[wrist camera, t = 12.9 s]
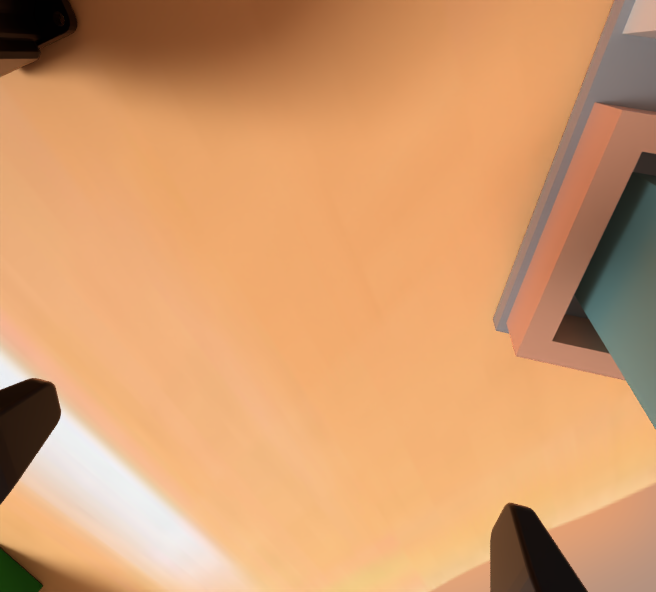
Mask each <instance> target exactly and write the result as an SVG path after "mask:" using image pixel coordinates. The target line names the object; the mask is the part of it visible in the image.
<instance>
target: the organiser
mask: <svg viewBox="0 0 656 592" xmlns="http://www.w3.org/2000/svg"><path fill="white" fill-rule="evenodd" d="M632 172H637V173H642V174H648V175H654V176H656V0H614V3H613V5H612V8H611V10H610V13H609V16H608V18H607V21H606V24H605V26H604V29H603V31H602V34H601V37H600V39H599V42H598V45H597V47H596V50H595V52H594V55H593V58H592V60H591V63H590V66H589V68H588V71H587V73H586V76H585V79H584V81H583V84H582V87H581V89H580V92H579V94H578V97H577V100H576V102H575V105H574V108H573V110H572V113H571V115H570V118H569V121H568V123H567V126H566V129H565V131H564V134H563V136H562V139H561V142H560V144H559V147H558V150H557V152H556V155H555V157H554V160H553V163H552V165H551V168H550V171H549V173H548V176H547V178H546V181H545V184H544V186H543V189H542V192H541V194H540V197H539V199H538V202H537V205H536V207H535V210H534V213H533V215H532V218H531V220H530V223H529V226H528V228H527V231H526V234H525V236H524V239H523V241H522V244H521V247H520V249H519V252H518V255H517V257H516V260H515V262H514V265H513V268H512V270H511V273H510V275H509V278H508V281H507V283H506V286H505V289H504V291H503V294H502V296H501V299H500V302H499V304H498V307H497V310H496V312H495V315H494V317H493V321H494V325H495V330H496V331H500V332H505V333H509V334H510V338H511V341H512V344H513V348H514V351H515V355H516V356H518V357H522V358H527V359H531V360H536V361H540V362H545V363H549V364H554V365H558V366H563V367H567V368H572V369H576V370H581V371H585V372H590V373H594V374H599V375H603V376H608V377H612V378H617V379H621V380H625V378H624V376H623V375H622V373H621V371H620V370H619V368H618V366H617V365H616V363H615V361H614V360H613V358H612V356H611V355H610V353H609V351H608V350H607V348H606V346H605V345H604V343H603V341H602V340H601V338H600V336H599V335H598V333H597V332H596V330H595V328H594V327H593V325H592V323H591V322H590V320H589V318H588V317H587V315H586V313H585V312H584V310H583V308H582V307H581V305H580V303H579V302H578V300H577V298H576V297H575V295H574V294H575V292H576V289H577V287H578V285H579V283H580V281H581V279H582V277H583V275H584V273H585V271H586V268H587V266H588V264H589V262H590V260H591V258H592V256H593V254H594V252H595V250H596V247H597V245H598V243H599V241H600V239H601V237H602V235H603V233H604V231H605V229H606V226H607V224H608V222H609V220H610V218H611V216H612V214H613V212H614V210H615V207H616V205H617V203H618V201H619V199H620V197H621V195H622V193H623V191H624V189H625V186H626V184H627V182H628V180H629V178H630V176H631V174H632Z"/></svg>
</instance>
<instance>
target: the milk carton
mask: <svg viewBox="0 0 656 592" xmlns="http://www.w3.org/2000/svg"><path fill="white" fill-rule="evenodd" d="M42 587H43V585H42V584H41V583H39V582H38V581H37V580H36V579H35V578H34V577H33V576H31V575H30V574H29V573H28V572H27V571H26V570H25V569H24V568H22V567H21V566H20V565H19V564H18V563H17V562H16V561H14V560H13V559H12V558H11V557H10V556H9V555H8V554H6V553H5V552H4V551H3V550H2V549H1V548H0V592H39V590H40V589H41V588H42Z"/></svg>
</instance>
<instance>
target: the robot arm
mask: <svg viewBox="0 0 656 592" xmlns="http://www.w3.org/2000/svg"><path fill="white" fill-rule="evenodd" d="M60 14H62V15H63V16H64V20H65V21H64V25H63V24H62V23H61V20H60ZM76 27H77V19H76V16H75V14H74V12H73V9H72V7H71V5H70V3H69V1H68V0H0V77H1V76H3V75H6V74H8V73H10V72H12V71H14V70H16V69H19V68H21V67H23V66H25V65H27V64H29V63H32V62H34V61H36V60H38V59H39V57H40V54H41V52H40V50H39V49H40V48H42V47H44V46H46V45H49V44H51V43H53V42H55V41H57V40H59V39H61V38H63V37H66V36H68V35H70V34H72V33H73V32H74V31H75V30H76ZM60 416H61V409H60V404H59V400H58V396H57V391H56V388H55V385H54V384H53V383H51V382H49V381H45V380H41V379H37V378H31V379H28V380H25V381H22V382H20V383H17V384H14V385H12V386H9V387H7V388H4V389H1V390H0V504H1V503H2V502H3V501H4V499H5V498H6V497H7V496H8V494H9V493H10V492H11V490H12V489H13V488H14V486H15V485H16V483H17V482H18V481H19V479H20V478H21V476H22V475H23V473H24V472H25V471H26V469H27V468H28V466H29V465H30V463H31V462H32V460H33V459H34V457H35V456H36V454H37V453H38V451H39V450H40V449H41V447H42V446H43V444H44V443H45V441H46V440H47V438H48V437H49V435H50V434H51V432H52V431H53V430H54V428H55V427H56V425H57V423H58V422H59V419H60ZM490 569H491V570H490V571H491V572H490V573H491V574H490V575H491V576H490V581H491V582H490V588H491V590H490V592H588V591H587V590H586V588H585V587H584V585H583V584H582V582H581V581H580V579H579V578H578V577H577V575H576V573H575V572H574V570H573V569H572V567H571V566H570V564H569V563H568V561H567V560H566V558H565V557H564V555H563V554H562V552H561V551H560V549H559V548H558V546H557V545H556V543H555V542H554V540H553V539H552V537H551V536H550V534H549V533H548V531H547V530H546V528H545V527H544V525H543V524H542V522H541V521H540V519H539V518H538V516H537V515H536V513H535V512H534V511H533V510H532V509H531V508H529V507H526V506H522V505H518V504H514V503H508V504H506V505H505V507H504V509H503V510H502V512H501V514H500V516H499V518H498V520H497V522H496V523H495V525H494V527H493V530H492V533H491V540H490Z"/></svg>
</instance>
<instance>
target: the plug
mask: <svg viewBox="0 0 656 592" xmlns="http://www.w3.org/2000/svg"><path fill="white" fill-rule="evenodd" d="M574 295H575V297H576V298H577V300H578V302H579V303H580V305H581V307H582V308H583V310H584V312H585V313H586V315H587V317H588V318H589V320H590V322H591V323H592V325H593V327H594V328H595V330H596V332H597V333H598V335H599V336H600V338H601V340H602V341H603V343H604V345H605V346H606V348H607V350H608V351H609V353H610V355H611V356H612V358H613V360H614V361H615V363H616V365H617V366H618V368H619V370H620V371H621V373H622V375H623V376H624V378H625V380H626V381H627V383H628V385H629V386H630V388H631V389H632V391H633V393H634V394H635V396H636V398H637V399H638V401H639V403H640V404H641V406H642V408H643V409H644V411H645V413H646V414H647V416H648V418H649V419H650V421H651V423H652V424H653V426H654V428H655V429H656V176H654V175H648V174H642V173H637V172H632V174H631V176H630V178H629V180H628V182H627V184H626V186H625V189H624V191H623V193H622V195H621V197H620V199H619V201H618V203H617V205H616V207H615V210H614V212H613V214H612V216H611V218H610V220H609V222H608V224H607V226H606V229H605V231H604V233H603V235H602V237H601V239H600V241H599V243H598V245H597V247H596V250H595V252H594V254H593V256H592V258H591V260H590V262H589V264H588V266H587V268H586V271H585V273H584V275H583V277H582V279H581V281H580V283H579V285H578V287H577V289H576V292H575V294H574Z"/></svg>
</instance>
